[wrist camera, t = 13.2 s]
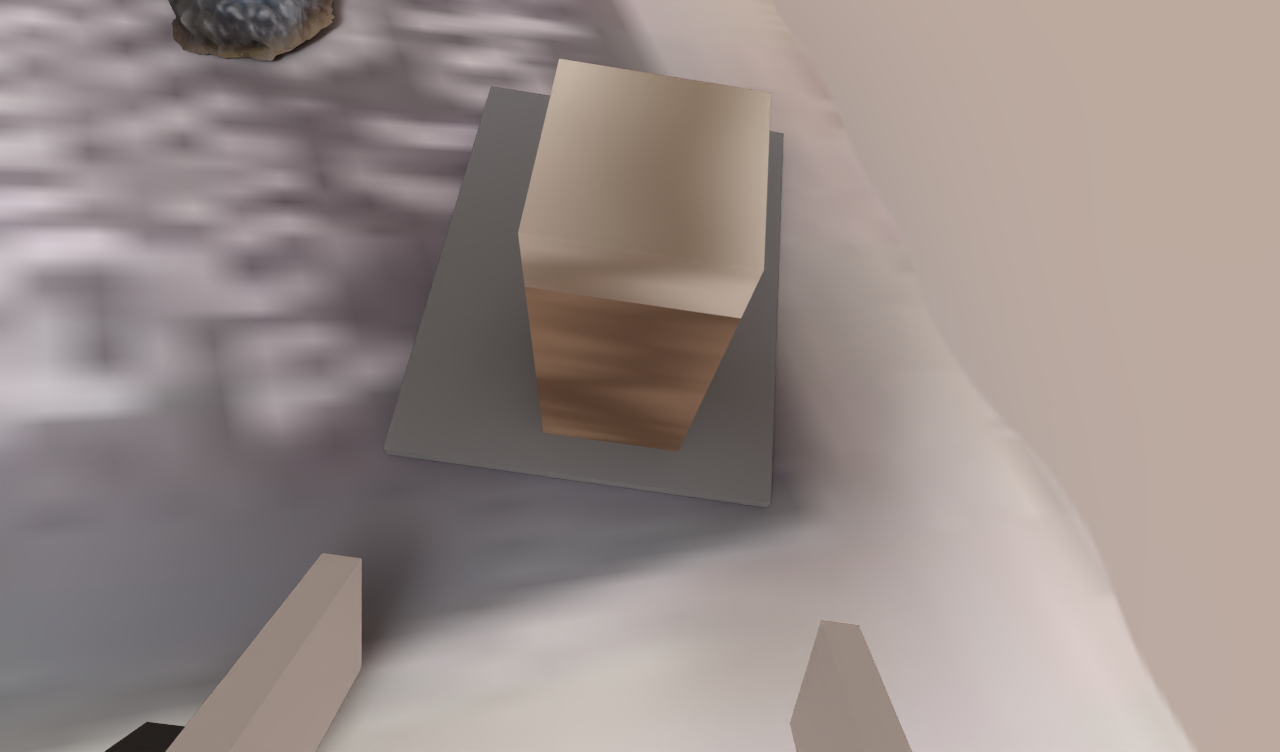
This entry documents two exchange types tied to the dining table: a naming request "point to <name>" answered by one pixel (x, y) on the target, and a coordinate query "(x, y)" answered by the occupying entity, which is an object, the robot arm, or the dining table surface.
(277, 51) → the antler
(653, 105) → the walnut block
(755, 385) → the charcoal rubber mat
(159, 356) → the dining table surface
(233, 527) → the dining table surface
